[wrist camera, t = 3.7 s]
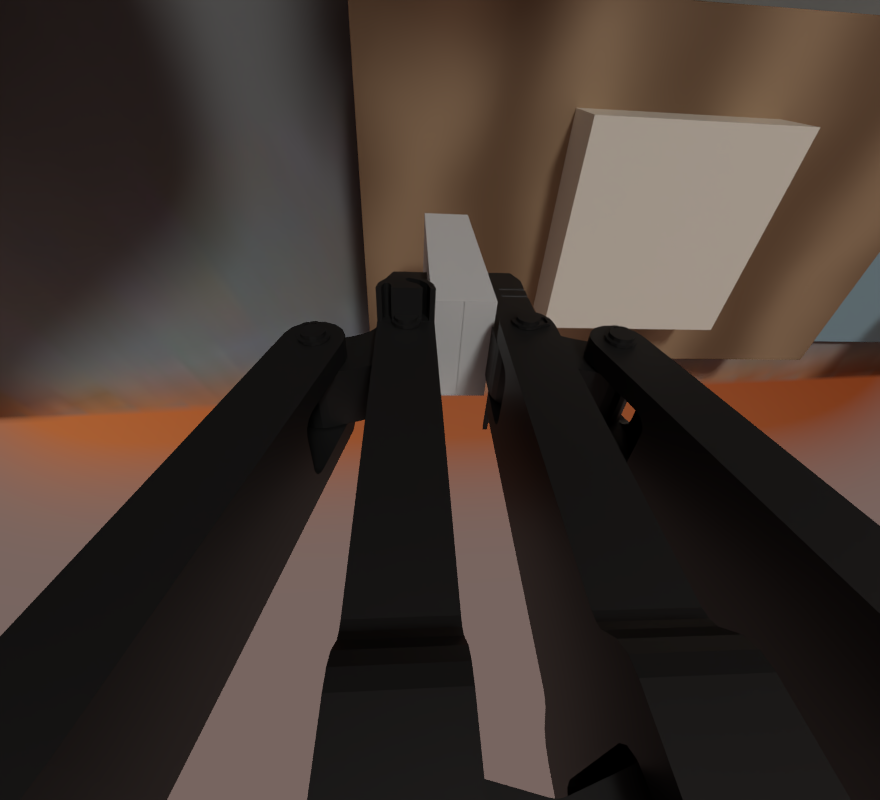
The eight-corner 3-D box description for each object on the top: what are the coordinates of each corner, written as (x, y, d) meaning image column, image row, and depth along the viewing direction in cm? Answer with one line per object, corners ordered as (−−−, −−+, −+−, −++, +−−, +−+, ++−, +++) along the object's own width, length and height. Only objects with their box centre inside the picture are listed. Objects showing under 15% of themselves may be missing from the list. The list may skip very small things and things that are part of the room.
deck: (375, 317, 25) (371, 355, 22) (358, -14, 16) (346, -28, 13) (755, 323, 27) (800, 359, 24) (934, 31, 18) (1045, 28, 14)
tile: (533, 306, 20) (543, 327, 19) (576, 107, 15) (595, 114, 14) (688, 309, 21) (710, 330, 19) (780, 119, 16) (820, 127, 14)
